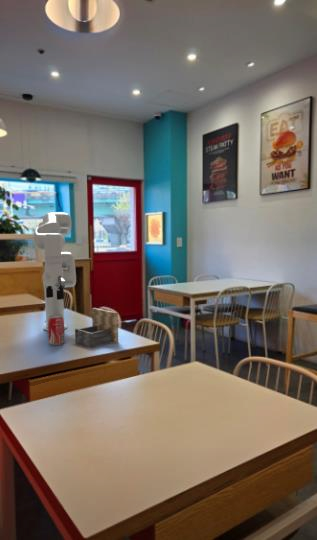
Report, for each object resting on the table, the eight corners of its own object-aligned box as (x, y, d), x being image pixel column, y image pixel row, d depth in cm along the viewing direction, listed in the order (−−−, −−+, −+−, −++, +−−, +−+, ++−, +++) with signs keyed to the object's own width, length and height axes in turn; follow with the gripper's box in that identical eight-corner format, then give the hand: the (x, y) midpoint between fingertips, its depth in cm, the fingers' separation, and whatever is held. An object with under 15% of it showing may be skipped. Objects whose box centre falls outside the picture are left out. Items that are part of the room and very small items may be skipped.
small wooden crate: (73, 340, 179) (72, 311, 178) (96, 335, 188) (95, 307, 187) (94, 348, 166) (93, 316, 165) (118, 342, 175) (117, 312, 174)
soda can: (66, 341, 177) (65, 314, 176) (61, 346, 170) (60, 317, 169) (52, 341, 178) (51, 314, 177) (46, 346, 171) (45, 317, 170)
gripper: (36, 260, 175) (38, 297, 176) (55, 261, 162) (56, 301, 163) (51, 260, 180) (53, 295, 181) (70, 260, 167) (72, 299, 169)
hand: (55, 298), depth 172 cm, fingers open, 9 cm apart
